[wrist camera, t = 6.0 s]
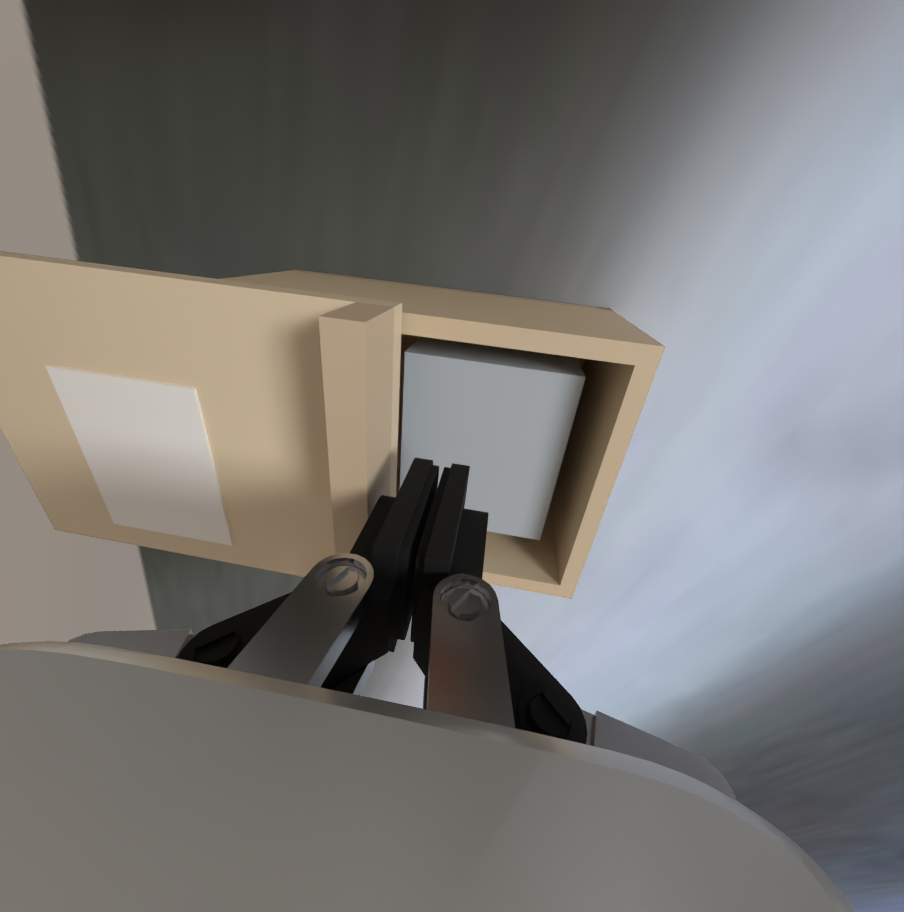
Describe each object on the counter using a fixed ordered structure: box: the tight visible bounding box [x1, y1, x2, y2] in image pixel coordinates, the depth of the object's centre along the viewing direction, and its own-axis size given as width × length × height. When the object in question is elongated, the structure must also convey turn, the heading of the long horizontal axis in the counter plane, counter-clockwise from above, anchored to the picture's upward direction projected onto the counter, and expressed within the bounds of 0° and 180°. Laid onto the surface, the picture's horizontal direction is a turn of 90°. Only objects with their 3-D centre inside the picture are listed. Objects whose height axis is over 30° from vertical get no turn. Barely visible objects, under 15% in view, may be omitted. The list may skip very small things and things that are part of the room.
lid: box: [0, 251, 402, 577], centre depth 12 cm, size 14×11×3 cm
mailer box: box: [221, 270, 665, 599], centre depth 16 cm, size 14×10×7 cm
